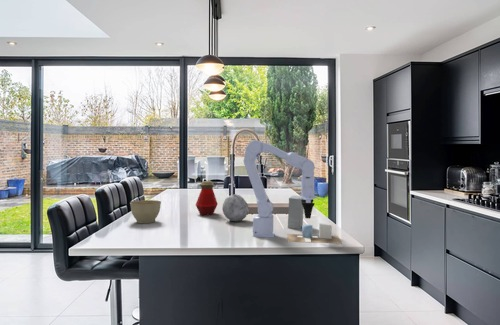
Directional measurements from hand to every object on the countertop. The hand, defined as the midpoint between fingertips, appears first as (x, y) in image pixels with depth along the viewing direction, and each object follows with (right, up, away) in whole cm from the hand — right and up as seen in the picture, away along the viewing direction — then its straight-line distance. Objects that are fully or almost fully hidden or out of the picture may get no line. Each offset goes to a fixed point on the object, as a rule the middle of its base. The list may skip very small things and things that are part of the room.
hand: (307, 216), depth 161 cm
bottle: (-52, -7, +58) cm, 79 cm away
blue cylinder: (0, -9, 0) cm, 9 cm away
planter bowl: (-83, -8, +34) cm, 90 cm away
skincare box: (-3, -9, +21) cm, 23 cm away
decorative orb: (-34, -8, +37) cm, 51 cm away
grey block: (+8, -9, -1) cm, 12 cm away
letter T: (0, -9, -4) cm, 10 cm away
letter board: (+2, -10, -3) cm, 10 cm away
